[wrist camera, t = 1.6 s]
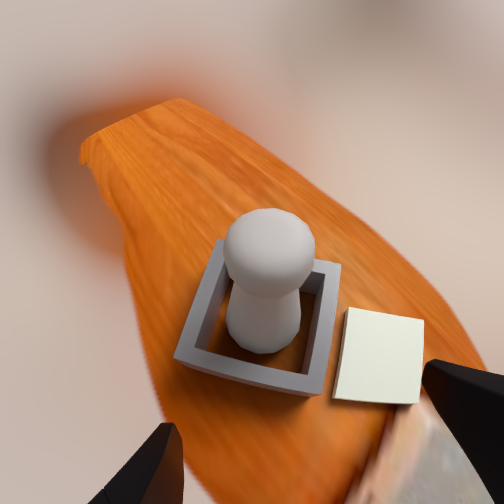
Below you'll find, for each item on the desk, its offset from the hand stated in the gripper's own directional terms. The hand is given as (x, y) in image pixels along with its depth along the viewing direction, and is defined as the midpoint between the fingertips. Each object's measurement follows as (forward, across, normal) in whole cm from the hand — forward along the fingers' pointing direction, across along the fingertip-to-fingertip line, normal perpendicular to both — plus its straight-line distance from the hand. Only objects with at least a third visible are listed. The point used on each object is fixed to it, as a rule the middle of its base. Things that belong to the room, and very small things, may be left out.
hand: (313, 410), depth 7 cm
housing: (+15, 0, +4) cm, 15 cm away
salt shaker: (+15, 0, +4) cm, 15 cm away
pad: (+11, -10, +8) cm, 17 cm away
